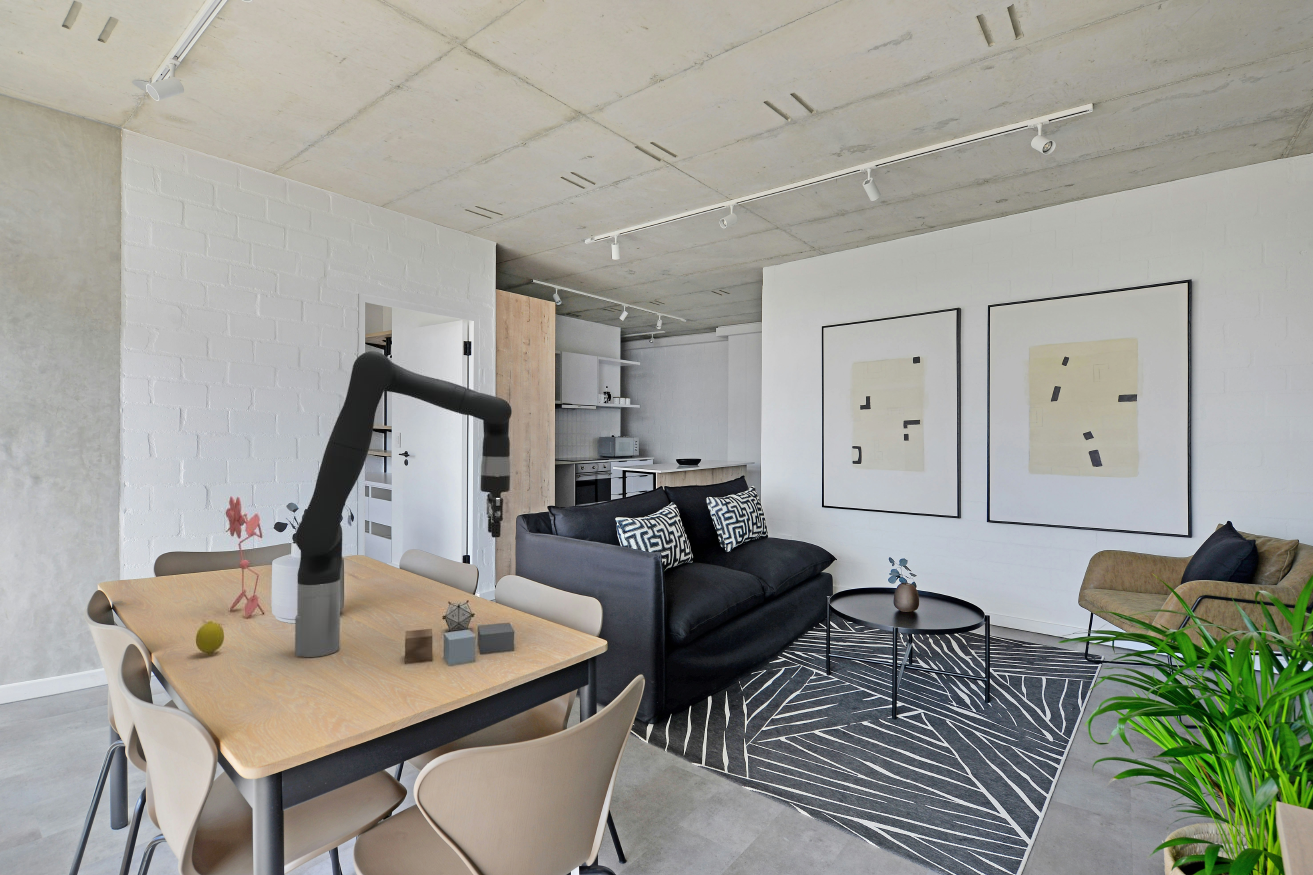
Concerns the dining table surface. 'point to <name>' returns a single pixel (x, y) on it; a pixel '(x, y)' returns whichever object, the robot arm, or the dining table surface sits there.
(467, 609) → the game die
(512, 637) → the charcoal block
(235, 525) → the pink stick figure
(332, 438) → the robot arm
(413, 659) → the walnut cube
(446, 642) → the slate cube
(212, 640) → the lemon
